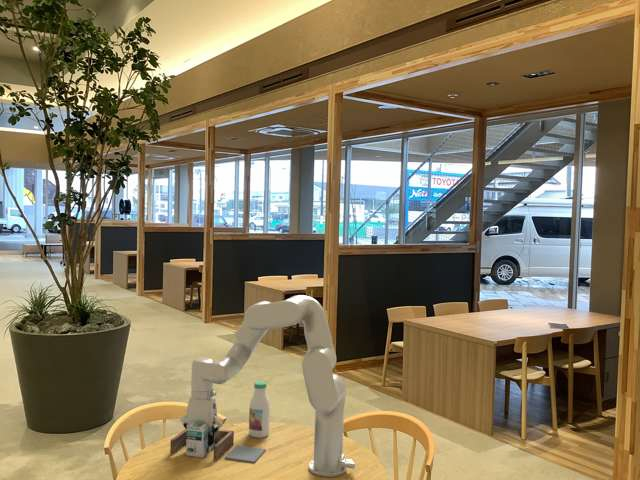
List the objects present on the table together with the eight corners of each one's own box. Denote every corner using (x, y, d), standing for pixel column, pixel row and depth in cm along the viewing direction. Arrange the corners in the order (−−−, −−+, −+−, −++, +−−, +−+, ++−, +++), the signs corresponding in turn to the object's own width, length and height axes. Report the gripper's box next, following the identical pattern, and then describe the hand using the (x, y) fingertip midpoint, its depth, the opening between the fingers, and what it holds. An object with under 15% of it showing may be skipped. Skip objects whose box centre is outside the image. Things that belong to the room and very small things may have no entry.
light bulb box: (203, 458, 201) (204, 427, 200) (185, 455, 202) (185, 425, 202) (215, 446, 211) (216, 416, 211) (197, 444, 213) (198, 414, 212)
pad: (265, 450, 209) (265, 448, 209) (254, 463, 198) (254, 461, 198) (236, 446, 212) (236, 444, 212) (224, 458, 201) (224, 457, 201)
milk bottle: (261, 429, 229) (263, 378, 228) (273, 435, 223) (274, 383, 222) (244, 433, 224) (246, 381, 223) (256, 439, 218) (257, 387, 218)
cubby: (233, 444, 213) (233, 431, 213) (216, 461, 199) (217, 446, 199) (189, 438, 218) (190, 425, 217) (170, 454, 203) (170, 440, 203)
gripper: (229, 393, 207) (227, 442, 208) (184, 388, 212) (183, 436, 213) (220, 399, 200) (219, 450, 201) (174, 394, 204) (173, 444, 205)
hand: (200, 443), depth 207 cm, fingers closed on light bulb box, 6 cm apart
